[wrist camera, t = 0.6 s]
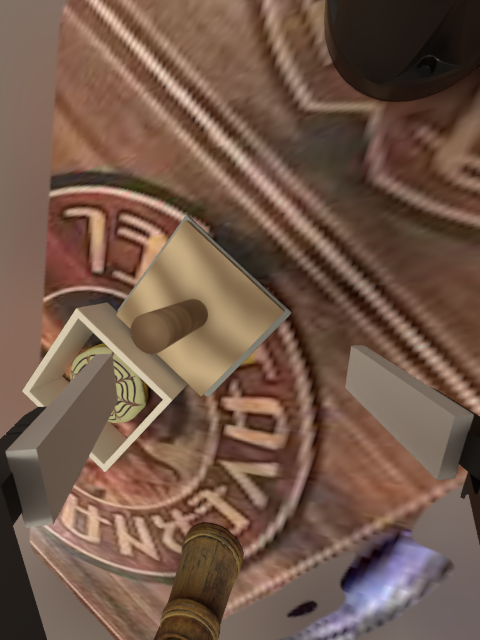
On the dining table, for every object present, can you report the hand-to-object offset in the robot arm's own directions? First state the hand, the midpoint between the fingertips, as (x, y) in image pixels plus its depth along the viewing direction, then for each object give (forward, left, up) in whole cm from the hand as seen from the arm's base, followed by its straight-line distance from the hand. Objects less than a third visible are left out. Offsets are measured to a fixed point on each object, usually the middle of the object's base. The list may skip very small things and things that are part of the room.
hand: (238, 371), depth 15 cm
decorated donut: (+21, -9, -17) cm, 29 cm away
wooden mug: (+34, +17, -17) cm, 41 cm away
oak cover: (+6, -7, -16) cm, 18 cm away
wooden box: (+21, -9, -17) cm, 28 cm away
